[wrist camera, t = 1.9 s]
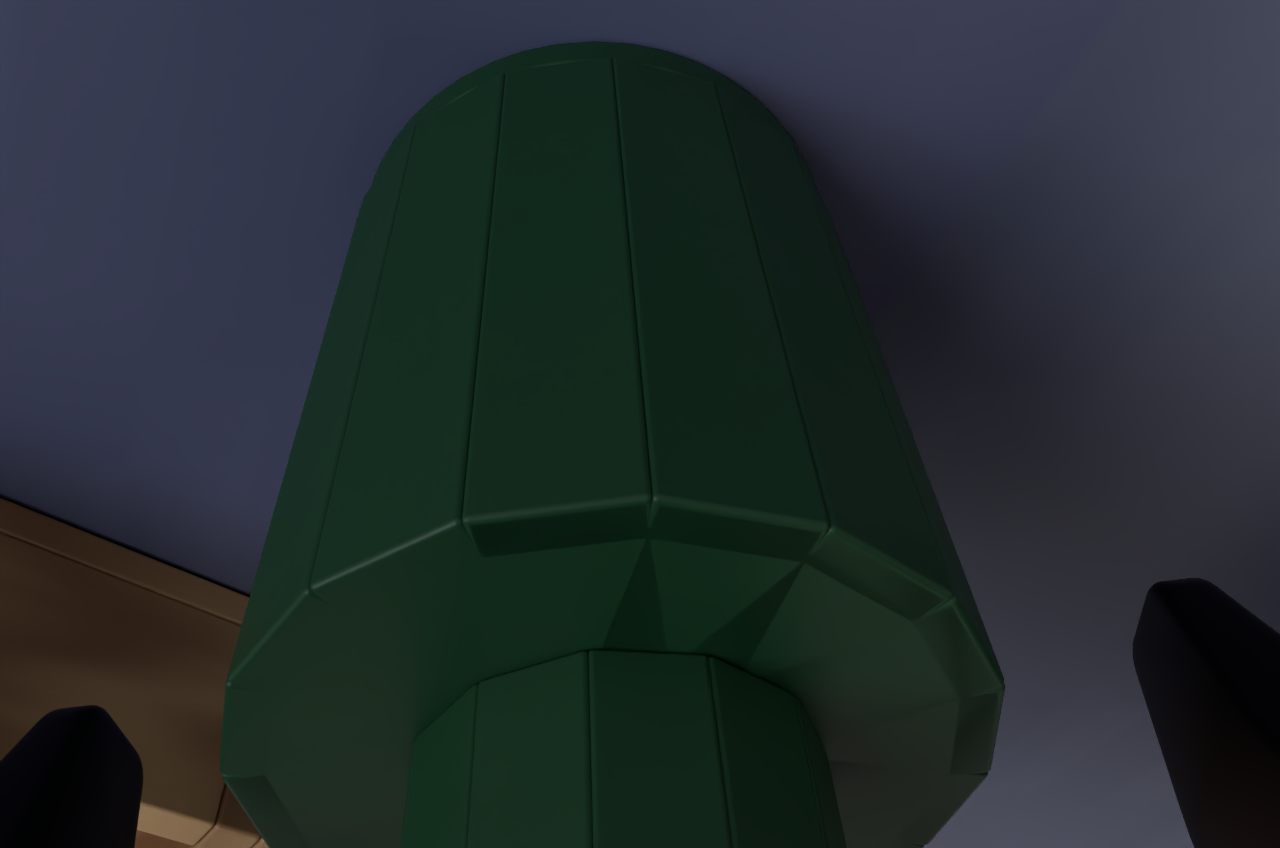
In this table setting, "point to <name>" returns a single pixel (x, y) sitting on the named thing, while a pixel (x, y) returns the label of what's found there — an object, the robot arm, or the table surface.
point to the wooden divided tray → (124, 666)
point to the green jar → (604, 503)
